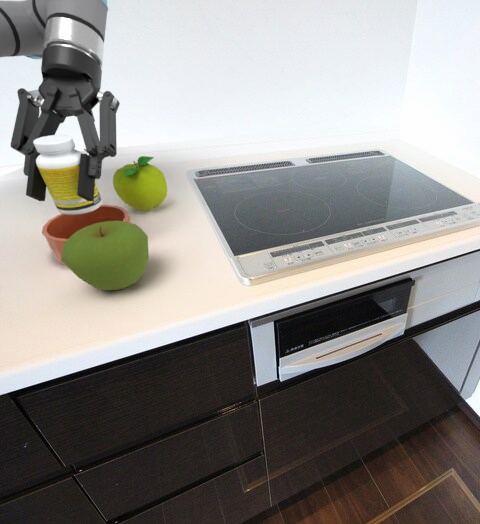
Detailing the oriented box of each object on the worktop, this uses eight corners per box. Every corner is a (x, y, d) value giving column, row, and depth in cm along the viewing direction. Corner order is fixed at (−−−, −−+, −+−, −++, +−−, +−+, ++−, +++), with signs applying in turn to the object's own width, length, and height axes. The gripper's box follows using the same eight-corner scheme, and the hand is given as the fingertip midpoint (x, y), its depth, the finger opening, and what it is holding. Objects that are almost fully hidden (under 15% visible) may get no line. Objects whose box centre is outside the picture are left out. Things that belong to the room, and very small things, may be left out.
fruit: (180, 200, 79) (169, 155, 73) (155, 220, 72) (141, 172, 66) (141, 195, 80) (127, 150, 74) (112, 215, 73) (94, 166, 67)
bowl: (38, 254, 61) (24, 228, 58) (105, 223, 70) (96, 199, 67) (88, 275, 57) (75, 248, 54) (152, 239, 66) (144, 214, 63)
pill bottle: (105, 210, 59) (79, 142, 52) (59, 220, 56) (25, 148, 49) (101, 196, 63) (76, 131, 56) (58, 204, 60) (26, 136, 53)
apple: (140, 254, 62) (122, 201, 56) (172, 280, 57) (155, 225, 51) (68, 283, 55) (39, 226, 49) (97, 316, 50) (68, 257, 44)
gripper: (147, 77, 63) (140, 205, 59) (26, 73, 60) (11, 206, 57) (125, 45, 55) (115, 189, 52) (-13, 39, 53) (-34, 189, 49)
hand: (60, 197), depth 54 cm, fingers closed on pill bottle, 6 cm apart
